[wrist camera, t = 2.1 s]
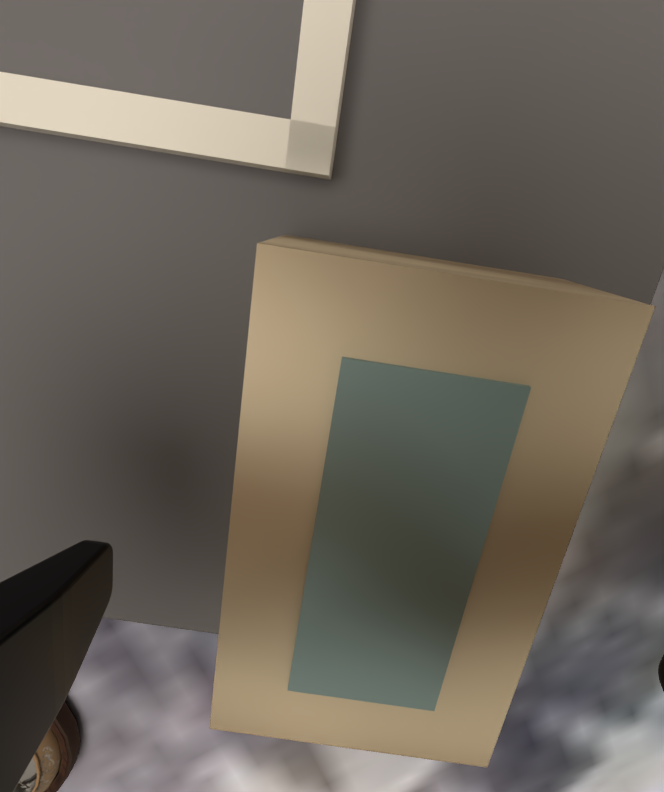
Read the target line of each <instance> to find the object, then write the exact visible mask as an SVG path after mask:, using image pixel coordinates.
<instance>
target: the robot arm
mask: <svg viewBox="0 0 664 792" xmlns="http://www.w3.org/2000/svg"><path fill="white" fill-rule="evenodd" d="M112 589H113V549H112V546H111V545H110V544H109V543H106V542H100V541H93V540H83V541H81V542H79V543H77V544H75V545H73V546H71V547H69V548H67V549H65V550H63V551H61V552H59V553H57V554H55V555H53V556H51V557H49V558H47V559H45V560H43V561H41V562H39V563H37V564H35V565H33V566H31V567H29V568H27V569H25V570H23V571H22V572H20V573H18V574H16V575H14V576H12V577H10V578H8V579H6V580H4V581H2V582H0V792H14V790H15V788H16V786H17V784H18V783H19V781H20V779H21V777H22V776H23V774H24V772H25V770H26V769H27V767H28V765H29V763H30V762H31V760H32V758H33V756H34V755H35V753H36V751H37V749H38V748H39V746H40V744H41V742H42V741H43V739H44V737H45V735H46V734H47V732H48V730H49V728H50V727H51V725H52V723H53V721H54V720H55V718H56V716H57V714H58V712H59V710H60V709H61V707H62V705H63V703H64V701H65V699H66V697H67V695H68V693H69V691H70V689H71V686H72V684H73V682H74V680H75V678H76V675H77V673H78V671H79V669H80V666H81V664H82V662H83V660H84V657H85V655H86V653H87V651H88V648H89V646H90V644H91V642H92V639H93V637H94V635H95V633H96V630H97V628H98V626H99V624H100V621H101V619H102V617H103V615H104V612H105V610H106V608H107V606H108V603H109V601H110V598H111V594H112ZM658 675H659V680H660V683H661V686H662V688H663V691H664V655H663V657H662V659H661V661H660V664H659V669H658Z"/></svg>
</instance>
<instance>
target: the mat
mask: <svg viewBox="0 0 664 792" xmlns="http://www.w3.org/2000/svg"><path fill="white" fill-rule="evenodd" d="M282 235H291V236H297V237H303V238H309V239H316V240H322V241H328V242H334V243H341V244H347V245H353V246H359V247H366V248H372V249H378V250H384V251H391V252H397V253H403V254H409V255H416V256H422V257H428V258H434V259H441V260H447V261H453V262H459V263H466V264H472V265H478V266H484V267H491V268H497V269H503V270H509V271H516V272H522V273H528V274H535V275H541V276H547V277H553V278H560V279H565V280H568V281H571V282H575V283H578V284H581V285H585V286H588V287H591V288H595V289H598V290H601V291H605V292H608V293H612V294H615V295H618V296H622V297H625V298H628V299H632V300H635V301H638V302H642V303H645V304H648V305H650V304H651V301H652V298H653V296H654V293H655V290H656V287H657V285H658V282H659V279H660V276H661V274H662V271H663V268H664V0H0V582H2V581H4V580H6V579H8V578H10V577H12V576H14V575H16V574H18V573H20V572H22V571H23V570H25V569H27V568H29V567H31V566H33V565H35V564H37V563H39V562H41V561H43V560H45V559H47V558H49V557H51V556H53V555H55V554H57V553H59V552H61V551H63V550H65V549H67V548H69V547H71V546H73V545H75V544H77V543H79V542H81V541H83V540H93V541H100V542H106V543H109V544H110V545H111V546H112V549H113V589H112V594H111V598H110V601H109V603H108V606H107V608H106V610H105V612H104V615H103V618H110V619H117V620H124V621H131V622H138V623H145V624H152V625H159V626H166V627H173V628H180V629H187V630H194V631H201V632H208V633H215V634H219V627H220V617H221V606H222V596H223V586H224V576H225V565H226V555H227V545H228V535H229V525H230V514H231V504H232V494H233V484H234V474H235V463H236V453H237V443H238V433H239V422H240V412H241V402H242V392H243V382H244V371H245V361H246V351H247V341H248V331H249V320H250V310H251V300H252V290H253V279H254V269H255V259H256V249H257V243H259V242H262V241H266V240H269V239H272V238H276V237H279V236H282Z"/></svg>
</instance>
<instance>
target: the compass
mask: <svg viewBox="0 0 664 792" xmlns="http://www.w3.org/2000/svg"><path fill="white" fill-rule="evenodd" d="M79 746H80V736H79V731H78V726H77V721H76V720H75V718H74V716H73V715H72V713H71V711H70V710H69V708H68V706H67V705H66V703H65V701H64V703H63V705H62V707H61V709H60V710H59V712H58V714H57V716H56V718H55V720H54V721H53V723H52V725H51V727H50V728H49V730H48V732H47V734H46V735H45V737H44V739H43V741H42V742H41V744H40V746H39V748H38V749H37V751H36V753H35V755H34V756H33V758H32V760H31V762H30V763H29V765H28V767H27V769H26V770H25V772H24V774H23V776H22V777H21V779H20V781H19V783H18V784H17V786H16V788H15V790H14V792H57V791H58V790H59V788H60V787H61V785H62V784H63V783H64V781H65V780H66V779H67V777H68V776H69V774H70V772H71V770H72V768H73V766H74V764H75V762H76V760H77V756H78V751H79Z"/></svg>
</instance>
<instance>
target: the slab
mask: <svg viewBox="0 0 664 792" xmlns="http://www.w3.org/2000/svg"><path fill="white" fill-rule="evenodd" d="M654 309H655V306H652V305H648V304H645V303H642V302H638V301H635V300H632V299H628V298H625V297H622V296H618V295H615V294H612V293H608V292H605V291H601V290H598V289H595V288H591V287H588V286H585V285H581V284H578V283H575V282H571V281H568V280H565V279H560V278H553V277H547V276H541V275H535V274H528V273H522V272H516V271H509V270H503V269H497V268H491V267H484V266H478V265H472V264H466V263H459V262H453V261H447V260H441V259H434V258H428V257H422V256H416V255H409V254H403V253H397V252H391V251H384V250H378V249H372V248H366V247H359V246H353V245H347V244H341V243H334V242H328V241H322V240H316V239H309V238H303V237H297V236H291V235H282V236H279V237H276V238H272V239H269V240H266V241H262V242H259V243H257V249H256V259H255V269H254V279H253V290H252V300H251V310H250V320H249V331H248V341H247V351H246V361H245V371H244V382H243V392H242V402H241V412H240V422H239V433H238V443H237V453H236V463H235V474H234V484H233V494H232V504H231V514H230V525H229V535H228V545H227V555H226V565H225V576H224V586H223V596H222V606H221V617H220V627H219V637H218V647H217V657H216V668H215V678H214V688H213V698H212V708H211V719H210V729H215V730H223V731H230V732H237V733H244V734H251V735H258V736H266V737H273V738H280V739H287V740H294V741H301V742H309V743H316V744H323V745H330V746H337V747H345V748H352V749H359V750H366V751H373V752H380V753H388V754H395V755H402V756H409V757H416V758H423V759H431V760H438V761H445V762H452V763H459V764H467V765H474V766H481V767H487V766H488V764H489V761H490V758H491V755H492V753H493V750H494V747H495V744H496V742H497V739H498V736H499V734H500V731H501V728H502V725H503V723H504V720H505V717H506V714H507V712H508V709H509V706H510V703H511V701H512V698H513V695H514V692H515V690H516V687H517V684H518V682H519V679H520V676H521V673H522V671H523V668H524V665H525V662H526V660H527V657H528V654H529V651H530V649H531V646H532V643H533V641H534V638H535V635H536V632H537V630H538V627H539V624H540V621H541V619H542V616H543V613H544V610H545V608H546V605H547V602H548V599H549V597H550V594H551V591H552V589H553V586H554V583H555V580H556V578H557V575H558V572H559V569H560V567H561V564H562V561H563V558H564V556H565V553H566V550H567V547H568V545H569V542H570V539H571V537H572V534H573V531H574V528H575V526H576V523H577V520H578V517H579V515H580V512H581V509H582V506H583V504H584V501H585V498H586V495H587V493H588V490H589V487H590V485H591V482H592V479H593V476H594V474H595V471H596V468H597V465H598V463H599V460H600V457H601V454H602V452H603V449H604V446H605V443H606V441H607V438H608V435H609V433H610V430H611V427H612V424H613V422H614V419H615V416H616V413H617V411H618V408H619V405H620V402H621V400H622V397H623V394H624V391H625V389H626V386H627V383H628V381H629V378H630V375H631V372H632V370H633V367H634V364H635V361H636V359H637V356H638V353H639V350H640V348H641V345H642V342H643V340H644V337H645V334H646V331H647V329H648V326H649V323H650V320H651V318H652V315H653V312H654Z"/></svg>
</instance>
